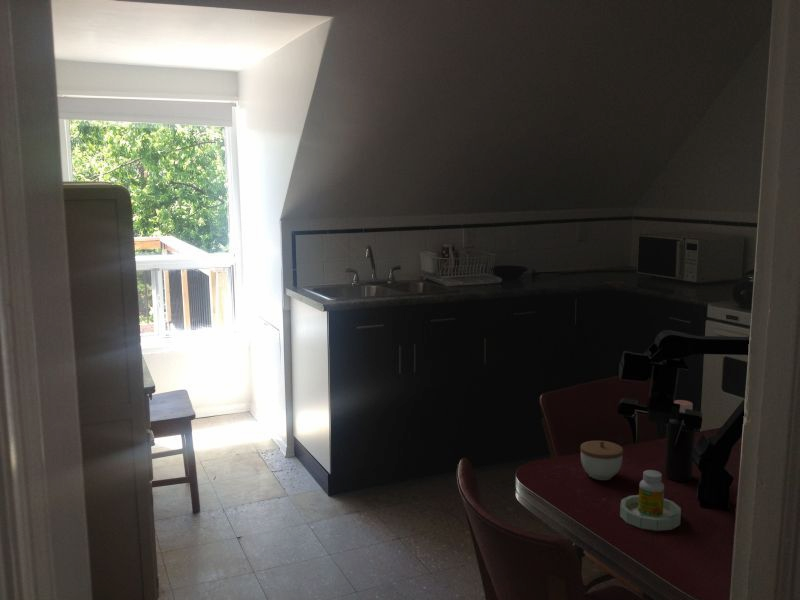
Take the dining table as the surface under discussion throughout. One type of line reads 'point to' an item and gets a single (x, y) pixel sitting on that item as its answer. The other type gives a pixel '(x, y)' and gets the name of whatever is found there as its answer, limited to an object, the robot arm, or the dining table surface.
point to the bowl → (664, 522)
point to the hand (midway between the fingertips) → (654, 447)
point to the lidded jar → (601, 459)
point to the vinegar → (679, 449)
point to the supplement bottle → (651, 494)
